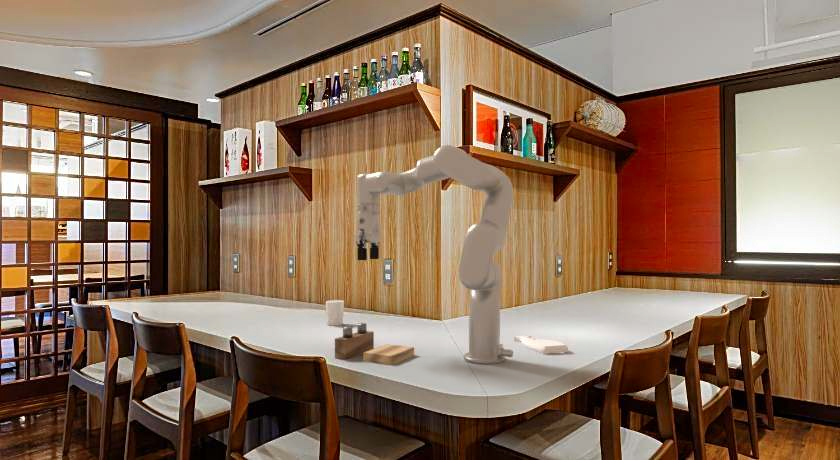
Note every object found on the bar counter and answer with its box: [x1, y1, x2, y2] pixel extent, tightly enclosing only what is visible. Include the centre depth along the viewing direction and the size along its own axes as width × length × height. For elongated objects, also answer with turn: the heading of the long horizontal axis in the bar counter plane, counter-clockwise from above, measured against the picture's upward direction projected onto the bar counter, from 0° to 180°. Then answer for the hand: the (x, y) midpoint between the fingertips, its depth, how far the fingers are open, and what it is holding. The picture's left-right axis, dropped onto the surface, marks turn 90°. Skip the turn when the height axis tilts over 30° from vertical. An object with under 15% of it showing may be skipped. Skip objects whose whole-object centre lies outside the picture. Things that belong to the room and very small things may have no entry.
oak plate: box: [362, 343, 415, 366], centre depth 163 cm, size 10×14×3 cm
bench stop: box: [334, 322, 375, 360], centre depth 169 cm, size 4×16×9 cm, turn 152°
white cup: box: [325, 299, 345, 327], centre depth 225 cm, size 8×8×10 cm
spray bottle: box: [513, 335, 569, 355], centre depth 181 cm, size 3×11×24 cm
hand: (368, 259), depth 180 cm, fingers open, 9 cm apart
